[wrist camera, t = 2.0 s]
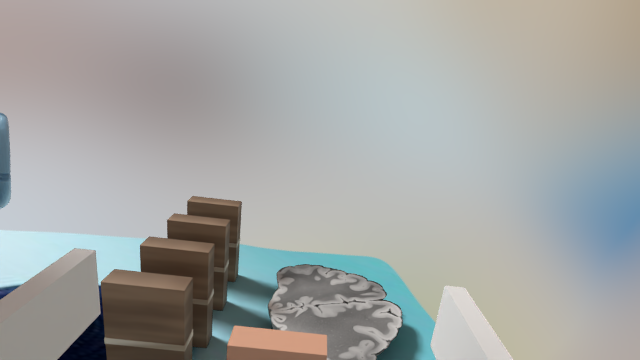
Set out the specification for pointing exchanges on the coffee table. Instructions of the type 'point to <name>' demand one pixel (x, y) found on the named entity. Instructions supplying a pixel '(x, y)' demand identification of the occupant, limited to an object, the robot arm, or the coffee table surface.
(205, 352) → the coffee table surface
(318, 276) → the brain slice
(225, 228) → the domino
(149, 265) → the domino
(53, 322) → the robot arm
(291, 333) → the domino
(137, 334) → the domino
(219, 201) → the domino
